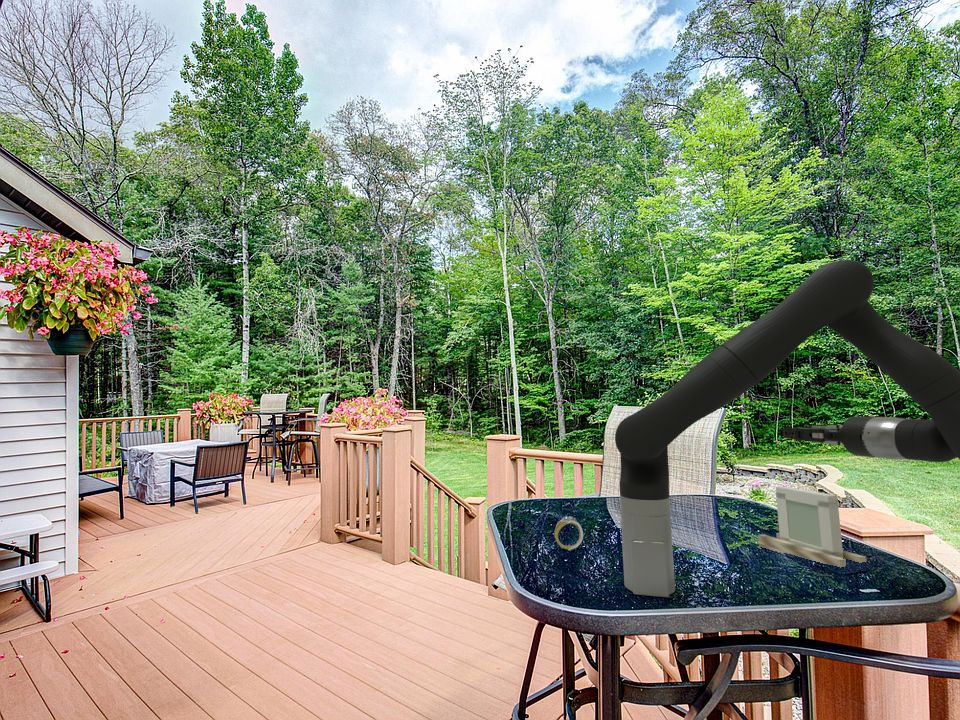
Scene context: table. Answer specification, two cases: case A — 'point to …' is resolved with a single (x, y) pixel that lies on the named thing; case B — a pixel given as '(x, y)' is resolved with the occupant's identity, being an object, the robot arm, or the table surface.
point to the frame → (809, 519)
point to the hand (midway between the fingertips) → (799, 432)
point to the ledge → (807, 551)
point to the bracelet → (560, 525)
